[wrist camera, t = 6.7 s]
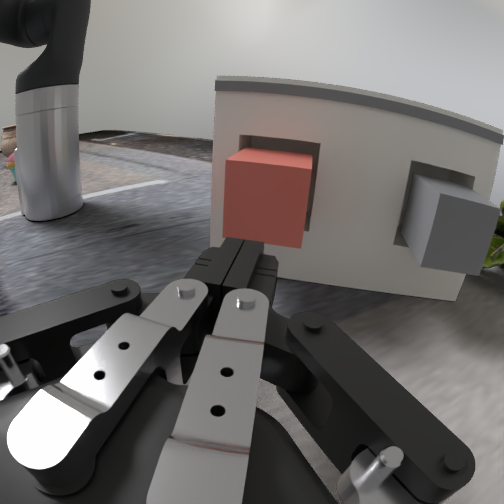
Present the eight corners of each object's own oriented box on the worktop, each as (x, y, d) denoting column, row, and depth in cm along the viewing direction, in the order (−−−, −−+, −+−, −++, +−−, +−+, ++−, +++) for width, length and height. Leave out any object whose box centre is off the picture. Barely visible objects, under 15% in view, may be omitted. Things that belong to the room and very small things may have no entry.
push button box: (208, 268, 28) (215, 75, 21) (231, 232, 35) (240, 83, 28) (456, 303, 25) (504, 130, 17) (431, 262, 32) (463, 122, 25)
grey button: (420, 266, 19) (440, 193, 16) (400, 232, 24) (413, 172, 22) (478, 276, 18) (500, 208, 16) (450, 241, 23) (465, 185, 21)
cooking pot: (75, 153, 82) (74, 114, 77) (29, 168, 65) (26, 123, 60) (29, 155, 86) (27, 121, 81) (-12, 169, 70) (-15, 131, 64)
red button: (222, 237, 20) (225, 159, 18) (242, 208, 26) (246, 147, 23) (301, 248, 20) (311, 169, 17) (304, 216, 25) (312, 154, 23)
